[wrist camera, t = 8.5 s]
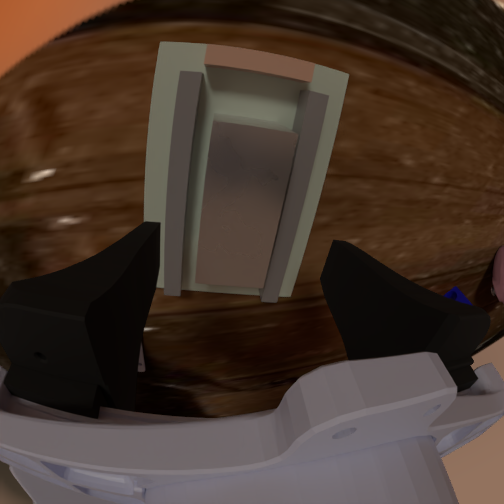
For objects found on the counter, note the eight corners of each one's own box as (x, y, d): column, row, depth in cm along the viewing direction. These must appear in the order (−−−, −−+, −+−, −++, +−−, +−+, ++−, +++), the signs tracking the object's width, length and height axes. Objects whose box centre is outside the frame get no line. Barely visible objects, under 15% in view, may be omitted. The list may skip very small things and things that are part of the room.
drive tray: (288, 290, 25) (295, 312, 23) (147, 280, 23) (141, 302, 21) (344, 74, 16) (362, 73, 14) (162, 43, 14) (153, 36, 12)
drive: (253, 245, 22) (263, 288, 17) (198, 240, 21) (194, 283, 17) (277, 122, 17) (298, 134, 13) (213, 112, 16) (212, 120, 12)
